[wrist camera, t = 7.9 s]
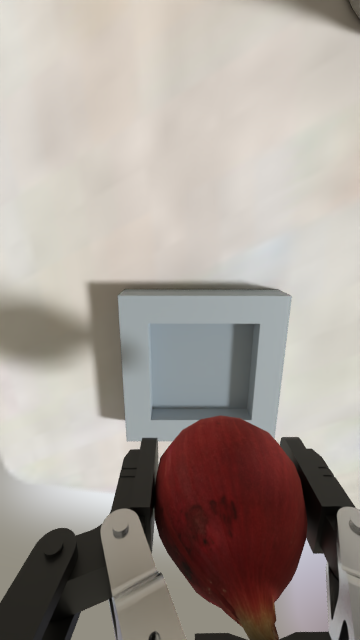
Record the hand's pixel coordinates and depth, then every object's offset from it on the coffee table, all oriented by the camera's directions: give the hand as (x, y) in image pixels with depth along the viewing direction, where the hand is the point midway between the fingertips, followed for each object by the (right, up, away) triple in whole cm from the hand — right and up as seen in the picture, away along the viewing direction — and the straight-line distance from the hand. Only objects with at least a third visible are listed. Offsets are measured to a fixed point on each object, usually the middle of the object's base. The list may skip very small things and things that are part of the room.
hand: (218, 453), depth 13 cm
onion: (0, 0, +2) cm, 2 cm away
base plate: (0, +3, +10) cm, 10 cm away
